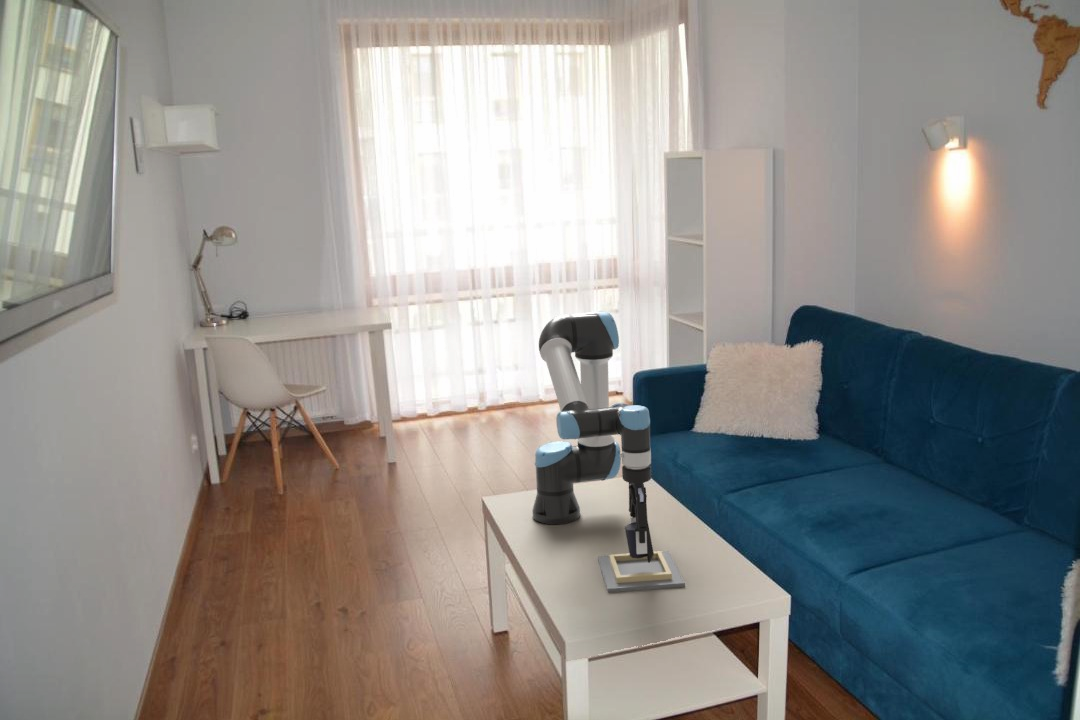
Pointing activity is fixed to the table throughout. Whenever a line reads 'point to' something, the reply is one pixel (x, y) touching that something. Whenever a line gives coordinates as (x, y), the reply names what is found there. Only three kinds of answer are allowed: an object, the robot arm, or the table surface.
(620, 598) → the table surface
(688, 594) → the table surface
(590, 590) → the table surface
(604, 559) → the mount board
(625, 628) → the table surface
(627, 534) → the speaker
